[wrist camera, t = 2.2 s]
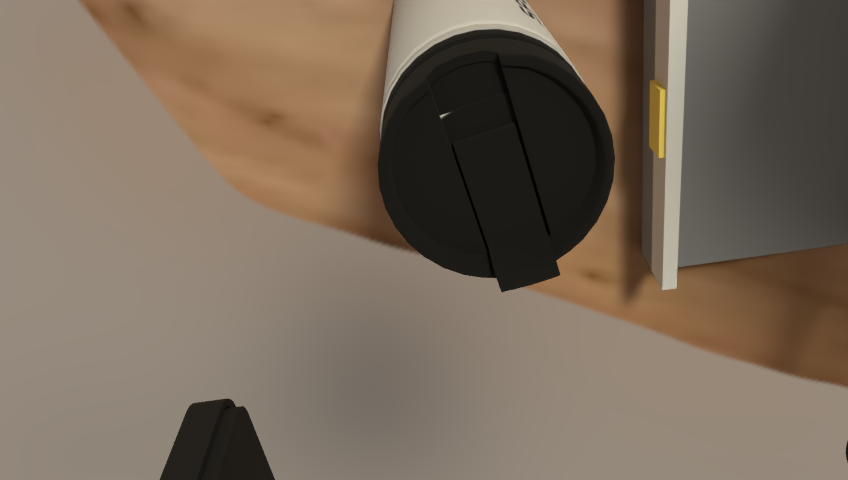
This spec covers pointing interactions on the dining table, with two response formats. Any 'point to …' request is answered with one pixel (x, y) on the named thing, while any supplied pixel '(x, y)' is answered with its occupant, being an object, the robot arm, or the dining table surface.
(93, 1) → the dining table surface
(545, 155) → the travel mug
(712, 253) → the grey bookend
